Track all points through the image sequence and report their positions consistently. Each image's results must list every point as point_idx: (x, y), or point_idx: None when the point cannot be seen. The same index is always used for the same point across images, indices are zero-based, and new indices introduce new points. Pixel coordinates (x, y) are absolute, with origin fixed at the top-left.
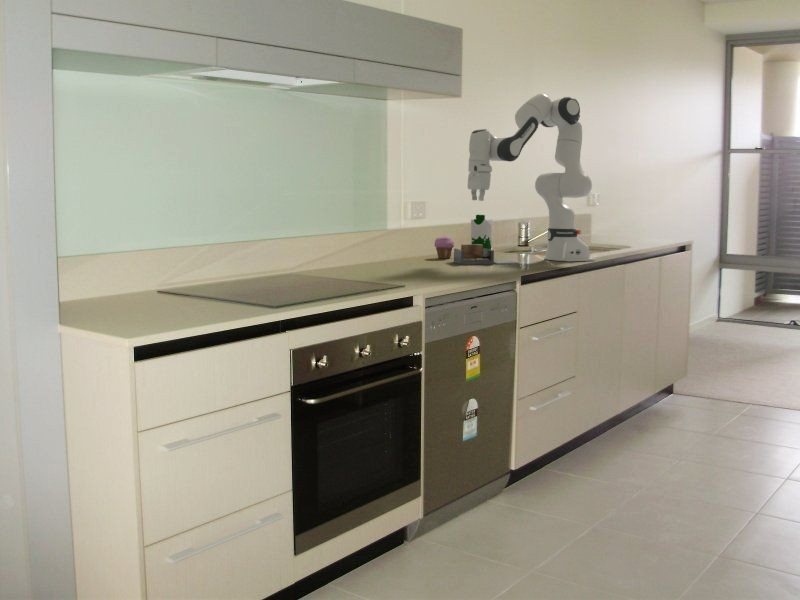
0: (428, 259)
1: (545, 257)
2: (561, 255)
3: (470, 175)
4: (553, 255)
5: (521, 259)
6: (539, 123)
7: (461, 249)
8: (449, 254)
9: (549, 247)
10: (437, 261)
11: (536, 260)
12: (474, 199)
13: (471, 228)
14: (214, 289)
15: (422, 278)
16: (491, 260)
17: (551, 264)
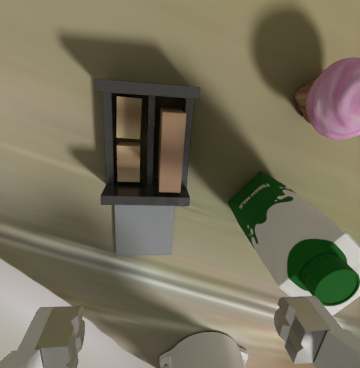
0: (302, 29)
1: (211, 335)
2: (173, 362)
3: None
4: (187, 350)
5: (228, 290)
6: None
7: (178, 111)
8: (305, 114)
9: (207, 364)
10: (232, 38)
11: (199, 311)
12: (282, 311)
13: (323, 216)
14: None
15: None
16: (106, 184)
17: (109, 316)
